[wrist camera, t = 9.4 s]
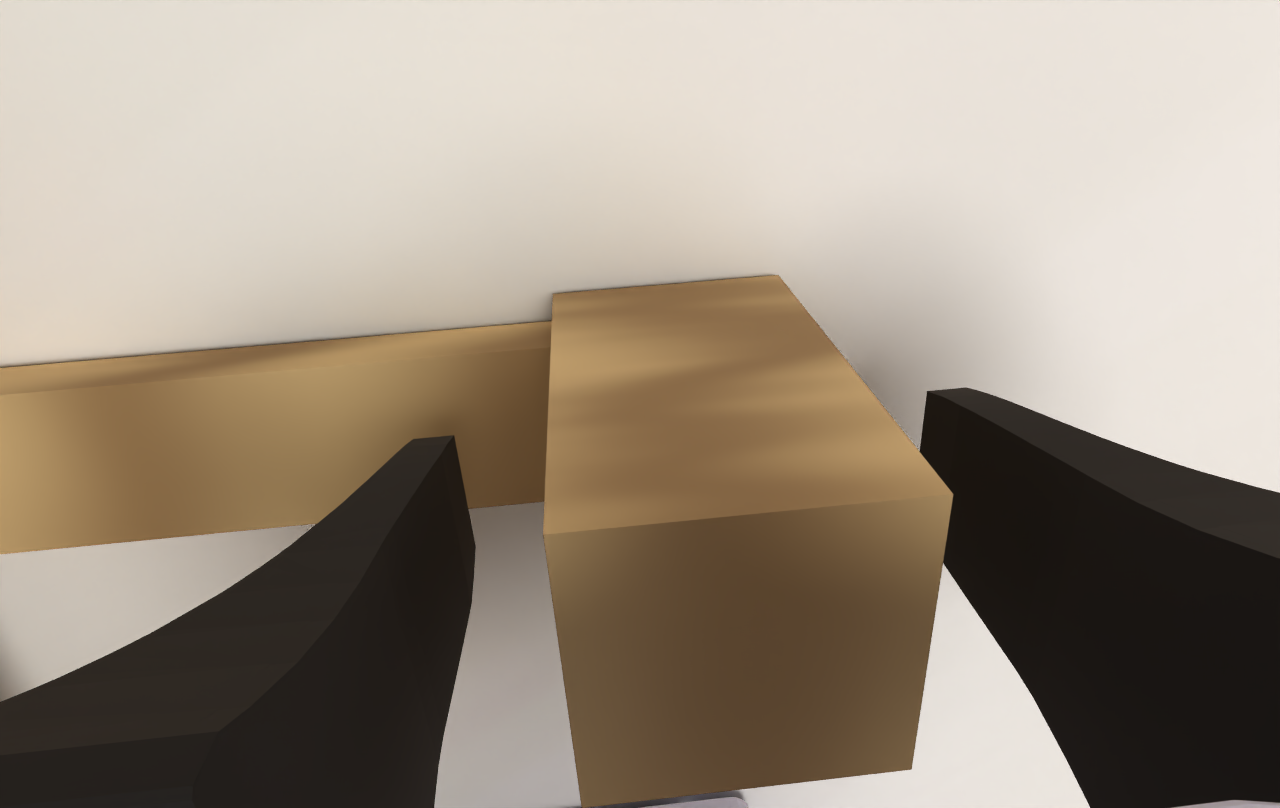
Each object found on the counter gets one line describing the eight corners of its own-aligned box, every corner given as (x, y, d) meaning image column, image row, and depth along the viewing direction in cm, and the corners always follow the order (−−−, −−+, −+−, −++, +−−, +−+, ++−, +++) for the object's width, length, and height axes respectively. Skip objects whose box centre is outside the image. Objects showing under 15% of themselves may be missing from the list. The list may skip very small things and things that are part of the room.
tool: (778, 275, 14) (953, 494, 8) (773, 466, 16) (911, 769, 9) (-229, 359, 13) (-960, 683, 7) (-109, 551, 15) (-597, 946, 9)
